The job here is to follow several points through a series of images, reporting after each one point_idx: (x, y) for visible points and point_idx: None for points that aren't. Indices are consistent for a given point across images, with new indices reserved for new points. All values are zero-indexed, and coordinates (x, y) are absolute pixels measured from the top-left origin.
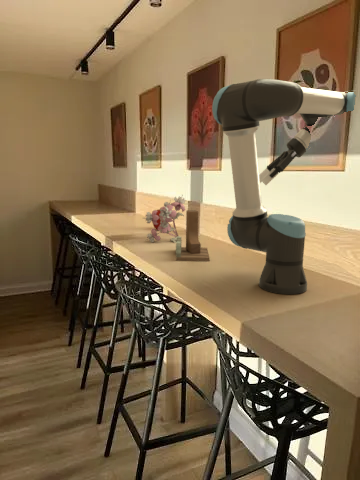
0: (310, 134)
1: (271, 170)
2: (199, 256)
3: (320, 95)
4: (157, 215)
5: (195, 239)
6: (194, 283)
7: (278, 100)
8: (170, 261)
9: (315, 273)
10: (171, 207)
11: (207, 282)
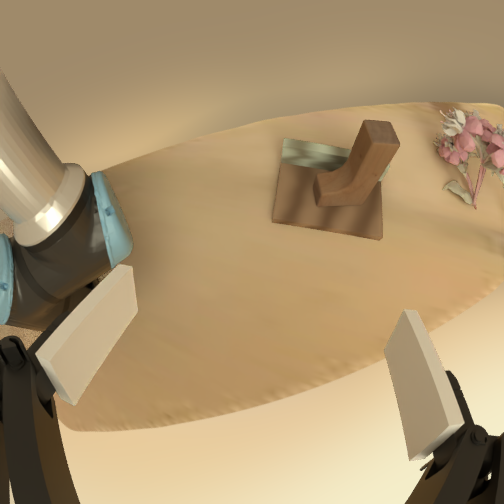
0: None
1: (60, 336)
2: (285, 199)
3: None
4: None
5: (340, 183)
6: (127, 174)
7: None
8: (276, 150)
9: (136, 419)
10: (472, 128)
11: (125, 192)
